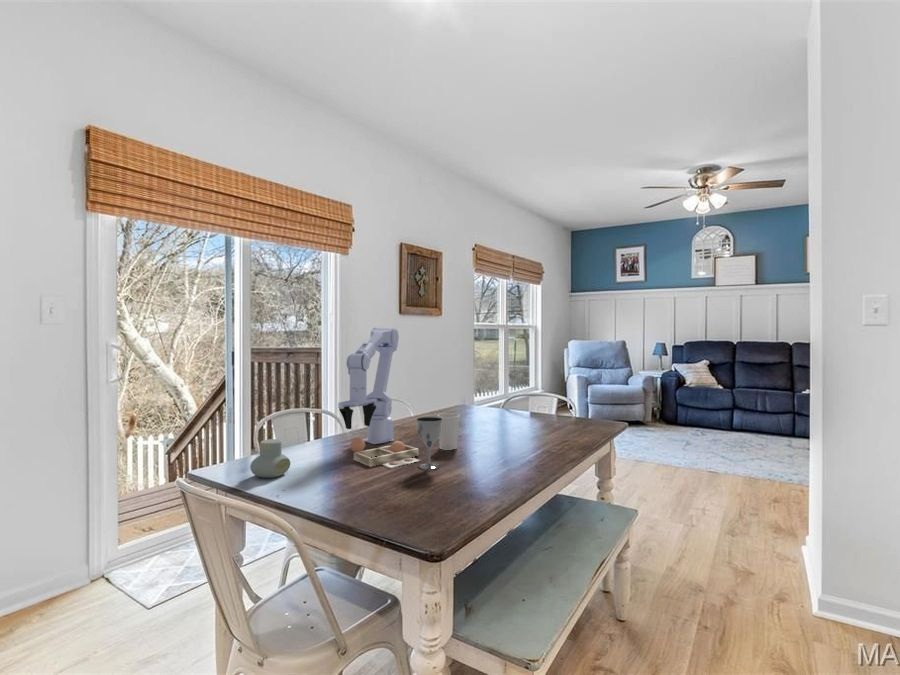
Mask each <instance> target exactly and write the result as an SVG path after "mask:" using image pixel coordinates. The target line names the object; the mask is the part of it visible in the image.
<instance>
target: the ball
mask: <svg viewBox="0 0 900 675" xmlns="http://www.w3.org/2000/svg"><path fill="white" fill-rule="evenodd" d="M390 445H391V447H390V450H391V452H394V453H397V452H401V451H405V445H406V444H405V443H403V441H401V440H394V441H392V443H391V444H390Z"/></svg>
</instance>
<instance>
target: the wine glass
mask: <svg viewBox="0 0 900 675" xmlns="http://www.w3.org/2000/svg"><path fill="white" fill-rule="evenodd" d="M416 431H417V435H418V438H419V439H420V441H421V442H422V443H423V444H424V446H425V447H426V451H427V463H423V464H419V465H420V466H419V465H418V466H419V467H420V468H421V469H435V468H437V467H438V465H439V464H437V465H436V463H431V455H432V449H433V446H434V445H435V444H436V442H437V441H439V437H440V435H441V431H442V418H440V417H437V416H421V417H417V418H416ZM421 469H420V470H421Z"/></svg>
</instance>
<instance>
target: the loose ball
mask: <svg viewBox="0 0 900 675" xmlns="http://www.w3.org/2000/svg"><path fill="white" fill-rule="evenodd" d="M365 448H366V442H365V441H364V440H363V438H361V437H355V438H353V439H352V440H351V441H350V449H351V451H353V453H354V452H360V451H365V450H364V449H365Z"/></svg>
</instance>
